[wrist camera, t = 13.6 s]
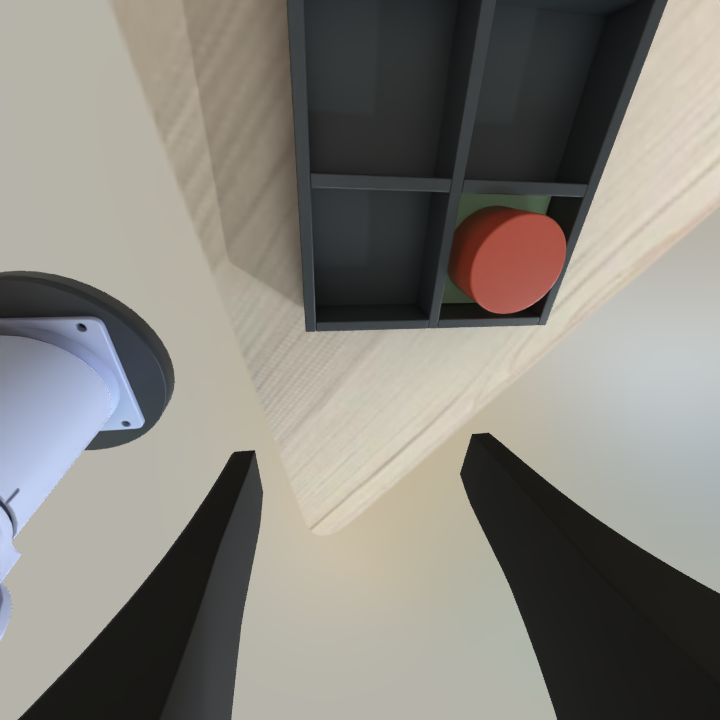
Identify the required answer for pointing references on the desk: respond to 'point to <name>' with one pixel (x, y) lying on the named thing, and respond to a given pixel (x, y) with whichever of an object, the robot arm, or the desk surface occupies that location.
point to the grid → (447, 140)
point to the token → (506, 257)
